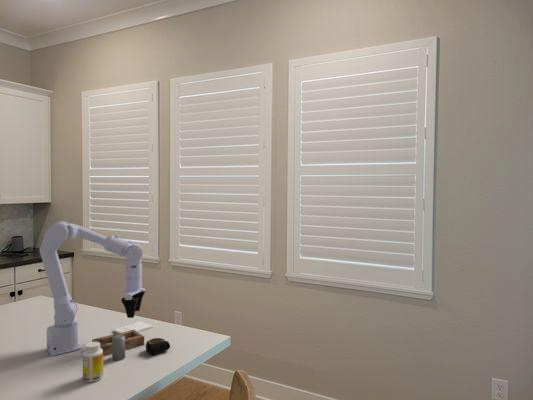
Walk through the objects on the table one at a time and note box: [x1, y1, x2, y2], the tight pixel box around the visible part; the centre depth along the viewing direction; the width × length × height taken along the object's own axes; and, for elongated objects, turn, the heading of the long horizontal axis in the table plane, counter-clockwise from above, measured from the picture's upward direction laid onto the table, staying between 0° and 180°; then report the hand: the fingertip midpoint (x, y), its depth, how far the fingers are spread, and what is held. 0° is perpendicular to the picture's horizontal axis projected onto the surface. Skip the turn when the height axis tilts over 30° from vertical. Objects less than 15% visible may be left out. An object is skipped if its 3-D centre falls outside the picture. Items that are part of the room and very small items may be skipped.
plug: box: [111, 335, 126, 362], centre depth 133 cm, size 4×4×7 cm
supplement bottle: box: [82, 341, 104, 383], centre depth 119 cm, size 6×6×10 cm
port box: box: [91, 330, 145, 357], centre depth 142 cm, size 15×9×3 cm, turn 131°
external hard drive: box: [112, 320, 153, 334], centre depth 159 cm, size 2×8×12 cm
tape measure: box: [145, 337, 171, 355], centre depth 138 cm, size 7×7×4 cm
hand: (133, 314), depth 147 cm, fingers open, 7 cm apart
